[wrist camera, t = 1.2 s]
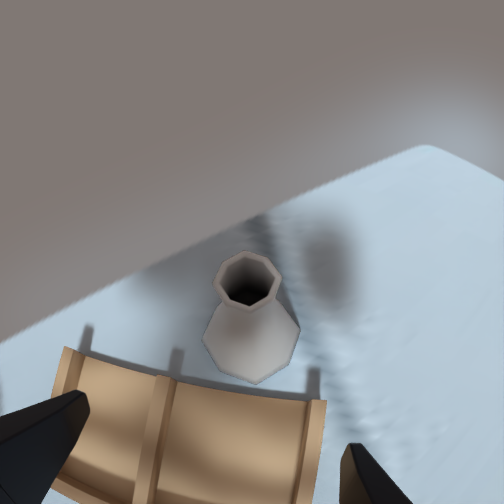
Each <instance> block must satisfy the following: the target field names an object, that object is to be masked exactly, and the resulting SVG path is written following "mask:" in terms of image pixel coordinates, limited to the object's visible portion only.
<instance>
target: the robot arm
mask: <svg viewBox="0 0 504 504" xmlns="http://www.w3.org/2000/svg"><path fill="white" fill-rule="evenodd" d="M89 415H90V405H89V402H88V398H87V395H86V393H85V392H82V391H80V390H77V389H75V390H72V391H70V392H67V393H64V394H62V395H59V396H56V397H54V398H51V399H48V400H46V401H43V402H40V403H38V404H35V405H32V406H29V407H26V408H24V409H21V410H18V411H15V412H12V413H9V414H6V415H3V416H1V417H0V504H41V503H42V501H43V499H44V497H45V496H46V494H47V492H48V490H49V489H50V487H51V485H52V484H53V482H54V480H55V478H56V477H57V475H58V473H59V472H60V470H61V468H62V467H63V465H64V463H65V462H66V460H67V458H68V457H69V455H70V453H71V452H72V450H73V448H74V447H75V445H76V443H77V441H78V439H79V437H80V434H81V432H82V430H83V428H84V426H85V424H86V421H87V419H88V417H89ZM339 504H413V503H412V502H411V501H410V500H409V499H408V497H407V496H406V495H405V494H404V493H403V492H402V491H401V489H400V488H399V487H398V486H397V485H396V484H395V482H394V481H393V480H392V479H391V478H390V477H389V475H388V474H387V473H386V472H385V471H384V470H383V468H382V467H381V466H380V465H379V464H378V463H377V461H376V460H375V459H374V458H373V457H372V455H371V454H370V453H369V452H368V451H367V449H366V448H365V447H364V446H363V445H362V444H361V443H349V444H348V445H347V447H346V449H345V451H344V454H343V456H342V458H341V463H340V492H339Z"/></svg>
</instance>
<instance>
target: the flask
mask: <svg viewBox="0 0 504 504" xmlns="http://www.w3.org/2000/svg"><path fill="white" fill-rule="evenodd" d="M281 281H282V276H281V274H280V273H279V272H278V270H277V269H276V268H275V266H274V265H273V264H272V263H271V261H270V260H269V259H268V258H267V257H264V256H261V255H258V254H255V253H252V252H249V251H245V250H244V251H242V252H240V253H238V254H236V255H234V256H232V257H231V258H229V259H227V260H225V261H223V262H222V264H221V266H220V268H219V270H218V272H217V274H216V276H215V278H214V280H213V282H212V285H213V287H214V288H215V290H216V292H217V293H218V295H219V296H220V298H221V300H222V302H221V303H220V304H219V305H218V306H217V308H216V309H215V312H214V314H213V316H212V318H211V320H210V322H209V325H208V327H207V329H206V331H205V333H204V335H203V338H202V342H203V344H204V346H205V347H206V349H207V351H208V352H209V354H210V356H211V357H212V359H213V361H214V362H215V364H216V366H217V367H218V369H219V370H220V371H221V372H223V373H226V374H228V375H231V376H233V377H236V378H239V379H241V380H244V381H247V382H249V383H252V384H255V385H257V384H259V383H260V382H262V381H264V380H265V379H267V378H269V377H270V376H272V375H273V374H275V373H277V372H278V371H280V370H281V369H283V368H284V367H286V366H288V365H289V363H290V360H291V357H292V355H293V352H294V349H295V346H296V343H297V340H298V338H299V335H300V332H301V330H300V329H299V327H298V326H297V325H296V323H295V322H294V321H293V319H292V318H291V316H290V315H289V314H288V312H287V311H286V310H285V308H284V307H283V305H282V304H281V303H280V302H279V301H278V300H277V299H276V298H275V296H276V294H277V291H278V288H279V286H280V283H281Z"/></svg>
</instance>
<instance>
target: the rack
mask: <svg viewBox="0 0 504 504" xmlns="http://www.w3.org/2000/svg"><path fill="white" fill-rule="evenodd" d="M75 389H77V390H80V391H82V392H85V393H86V395H87V398H88V402H89V405H90V415H89V417H88V419H87V421H86V424H85V426H84V428H83V430H82V432H81V434H80V437H79V439H78V441H77V443H76V445H75V447H74V448H73V450H72V452H71V453H70V455H69V457H68V458H67V460H66V462H65V463H64V465H63V467H62V468H61V470H60V472H59V473H58V475H57V477H56V478H55V480H54V482H53V484H52V485H51V487H50V488H52V489H54V490H55V491H57V492H59V493H61V494H62V495H64V496H66V497H68V498H70V499H72V500H74V501H76V502H78V503H80V504H312V498H313V493H314V488H315V482H316V476H317V470H318V464H319V458H320V451H321V444H322V437H323V430H324V422H325V414H326V405H327V400H314V399H312V400H310V401H308V402H307V401H296V400H286V399H277V398H269V397H261V396H254V395H247V394H240V393H234V392H228V391H222V390H217V389H211V388H206V387H201V386H196V385H191V384H186V383H182V382H178V381H176V380H174V379H172V378H171V377H167V376H163V375H158V374H157V376H152V375H148V374H145V373H141V372H137V371H133V370H130V369H126V368H123V367H119V366H116V365H113V364H109V363H106V362H103V361H100V360H97V359H94V358H91V357H88V356H85V355H83V354H81V353H79V352H78V351H76V350H74V349H71V348H68V347H66V346H64V349H63V352H62V356H61V359H60V363H59V366H58V370H57V374H56V378H55V382H54V386H53V390H52V394H51V398H54V397H56V396H59V395H62V394H64V393H67V392H70V391H72V390H75Z"/></svg>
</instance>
